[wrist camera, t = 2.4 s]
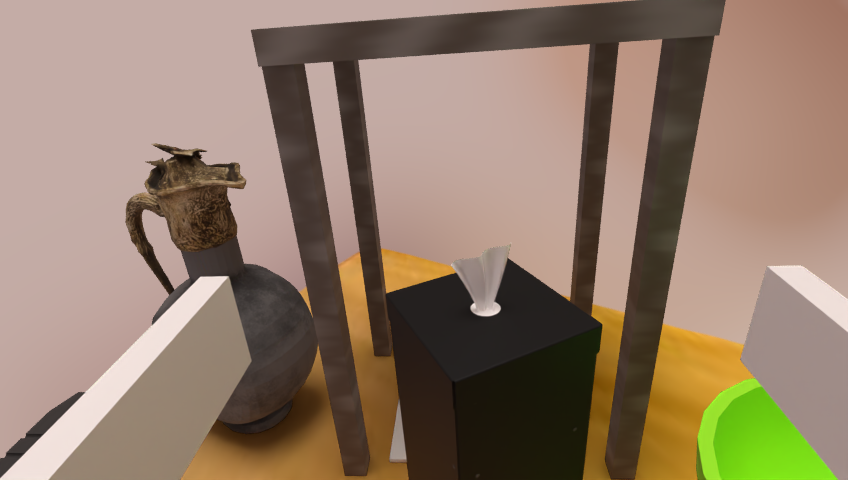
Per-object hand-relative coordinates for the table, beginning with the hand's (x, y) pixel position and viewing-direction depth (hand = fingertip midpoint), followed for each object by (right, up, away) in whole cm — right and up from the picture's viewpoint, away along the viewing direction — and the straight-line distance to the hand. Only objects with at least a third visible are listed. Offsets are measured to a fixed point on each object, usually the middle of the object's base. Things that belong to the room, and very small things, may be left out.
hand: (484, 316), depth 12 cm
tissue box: (+3, -24, +22) cm, 33 cm away
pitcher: (-22, -17, +41) cm, 49 cm away
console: (+5, -15, +39) cm, 42 cm away
